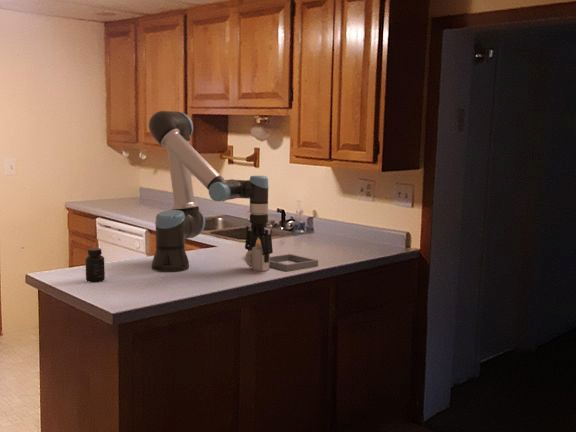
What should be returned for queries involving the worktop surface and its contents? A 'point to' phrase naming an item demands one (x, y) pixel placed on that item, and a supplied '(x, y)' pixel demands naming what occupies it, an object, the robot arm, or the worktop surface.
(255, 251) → the cup
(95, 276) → the supplement bottle
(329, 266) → the worktop surface
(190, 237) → the robot arm
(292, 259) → the tray
